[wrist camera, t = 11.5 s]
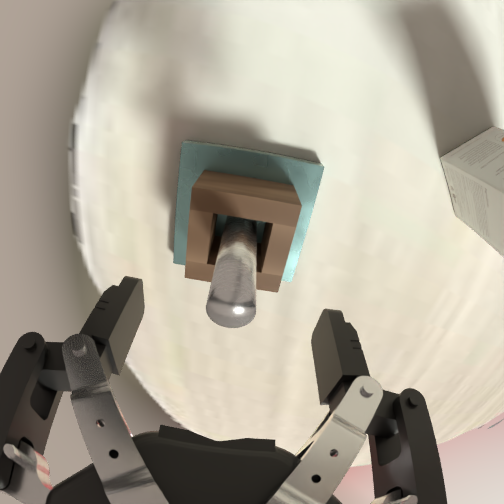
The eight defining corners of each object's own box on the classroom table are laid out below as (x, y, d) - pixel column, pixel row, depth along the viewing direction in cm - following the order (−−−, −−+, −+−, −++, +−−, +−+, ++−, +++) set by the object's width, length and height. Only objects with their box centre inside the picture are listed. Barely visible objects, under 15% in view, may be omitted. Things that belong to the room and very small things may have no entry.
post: (185, 140, 19) (117, 185, 9) (321, 163, 20) (378, 229, 10) (176, 256, 24) (134, 356, 14) (290, 275, 25) (305, 381, 15)
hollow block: (204, 170, 19) (191, 187, 16) (293, 185, 20) (302, 205, 16) (195, 248, 22) (184, 277, 19) (274, 261, 23) (277, 292, 19)
